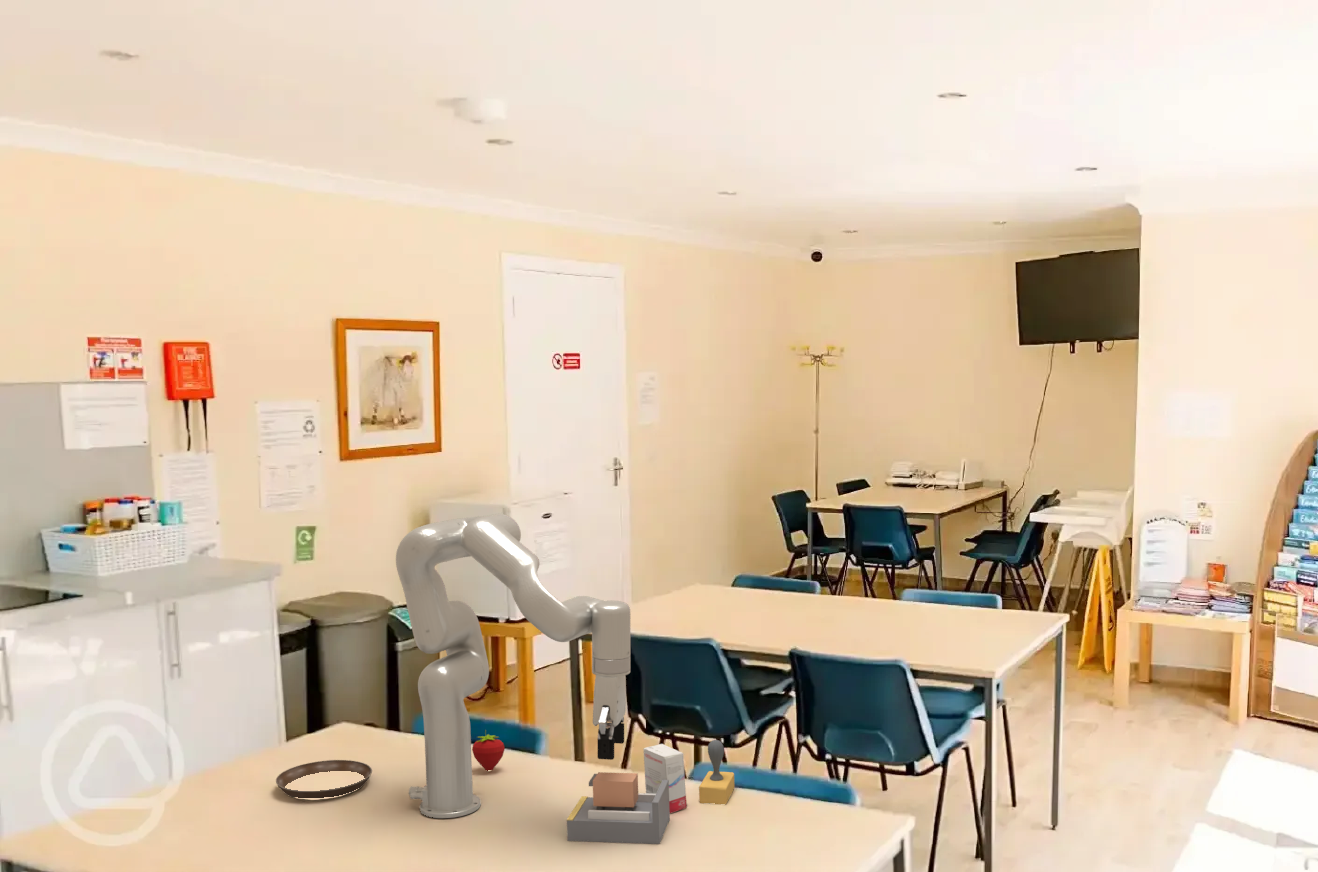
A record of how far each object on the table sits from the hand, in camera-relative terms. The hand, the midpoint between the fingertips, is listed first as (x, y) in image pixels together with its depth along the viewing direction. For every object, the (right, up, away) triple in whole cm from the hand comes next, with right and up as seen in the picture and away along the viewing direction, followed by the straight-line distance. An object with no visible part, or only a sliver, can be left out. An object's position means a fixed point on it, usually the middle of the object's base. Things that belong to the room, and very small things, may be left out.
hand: (611, 750), depth 223 cm
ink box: (+11, -15, +12) cm, 22 cm away
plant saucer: (-65, -17, +30) cm, 74 cm away
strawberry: (-30, -16, +37) cm, 50 cm away
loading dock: (+2, -16, 0) cm, 16 cm away
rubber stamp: (+22, -15, +18) cm, 32 cm away
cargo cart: (+1, -12, 0) cm, 12 cm away
